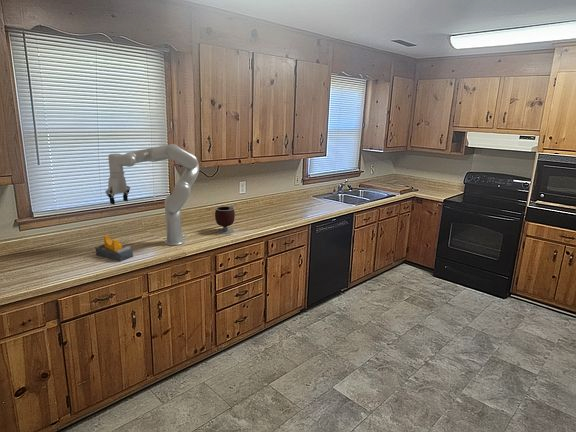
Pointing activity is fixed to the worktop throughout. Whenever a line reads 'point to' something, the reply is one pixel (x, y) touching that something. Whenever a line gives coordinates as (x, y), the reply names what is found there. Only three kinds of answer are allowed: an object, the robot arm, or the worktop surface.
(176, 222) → the robot arm
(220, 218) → the mate gourd
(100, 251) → the mounting block
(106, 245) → the orange stepped block
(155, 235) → the worktop surface
